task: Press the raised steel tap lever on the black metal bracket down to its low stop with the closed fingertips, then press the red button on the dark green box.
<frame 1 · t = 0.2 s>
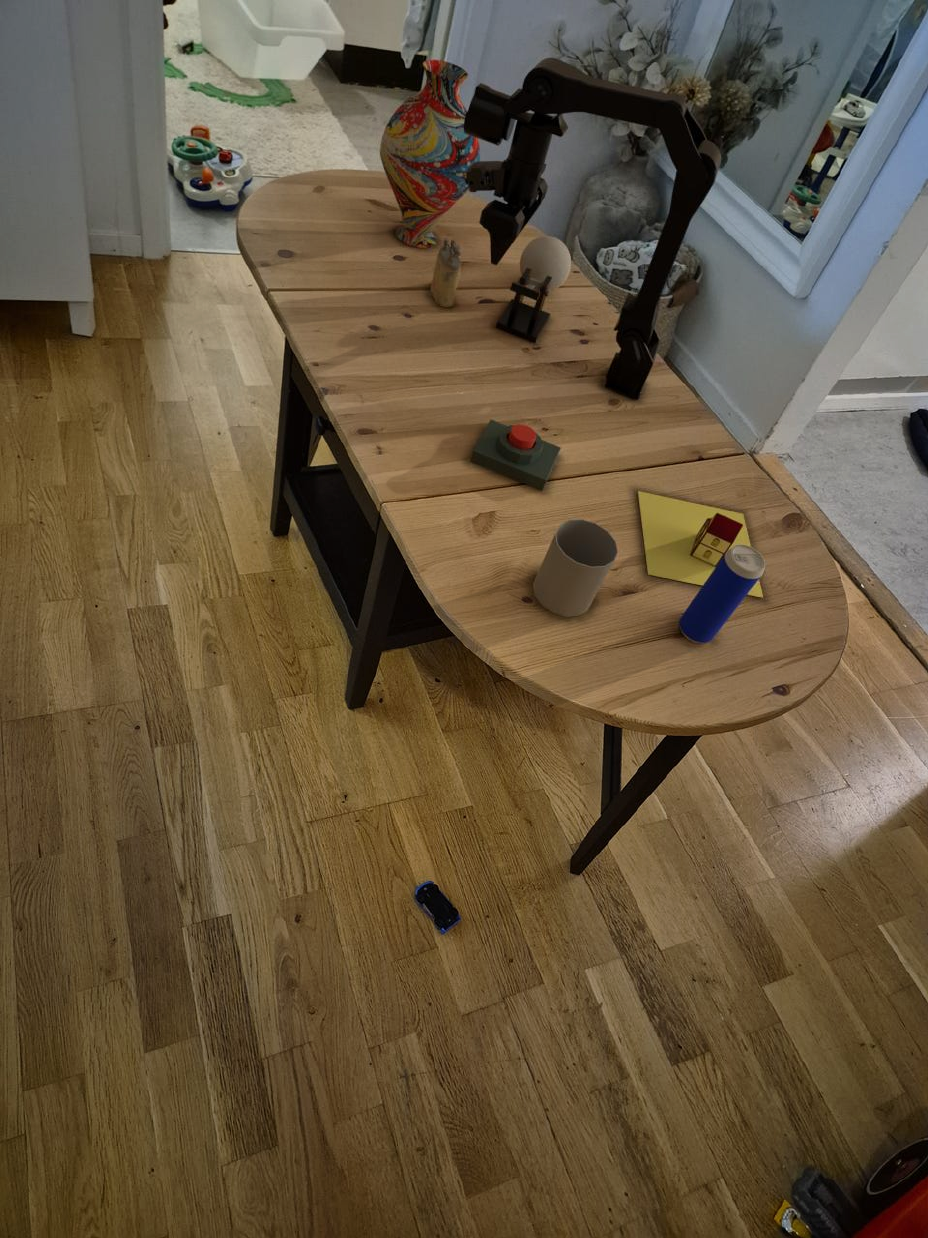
hand: (502, 252, 135), 14 cm above the table, tool pointing down, fingers open, 9 cm apart
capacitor: (440, 297, 150), on the table
button: (522, 437, 121), point 4 cm above the table, slide at 0.1 cm
cup: (561, 593, 109), on the table
tap bracket: (522, 323, 150), on the table
beverage can: (694, 631, 110), on the table
button box: (514, 459, 124), on the table
vase: (415, 237, 162), on the table
lever: (529, 288, 140), point 9 cm above the table, hinge at 20.0°
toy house: (697, 543, 122), on the table
ball: (537, 288, 160), on the table
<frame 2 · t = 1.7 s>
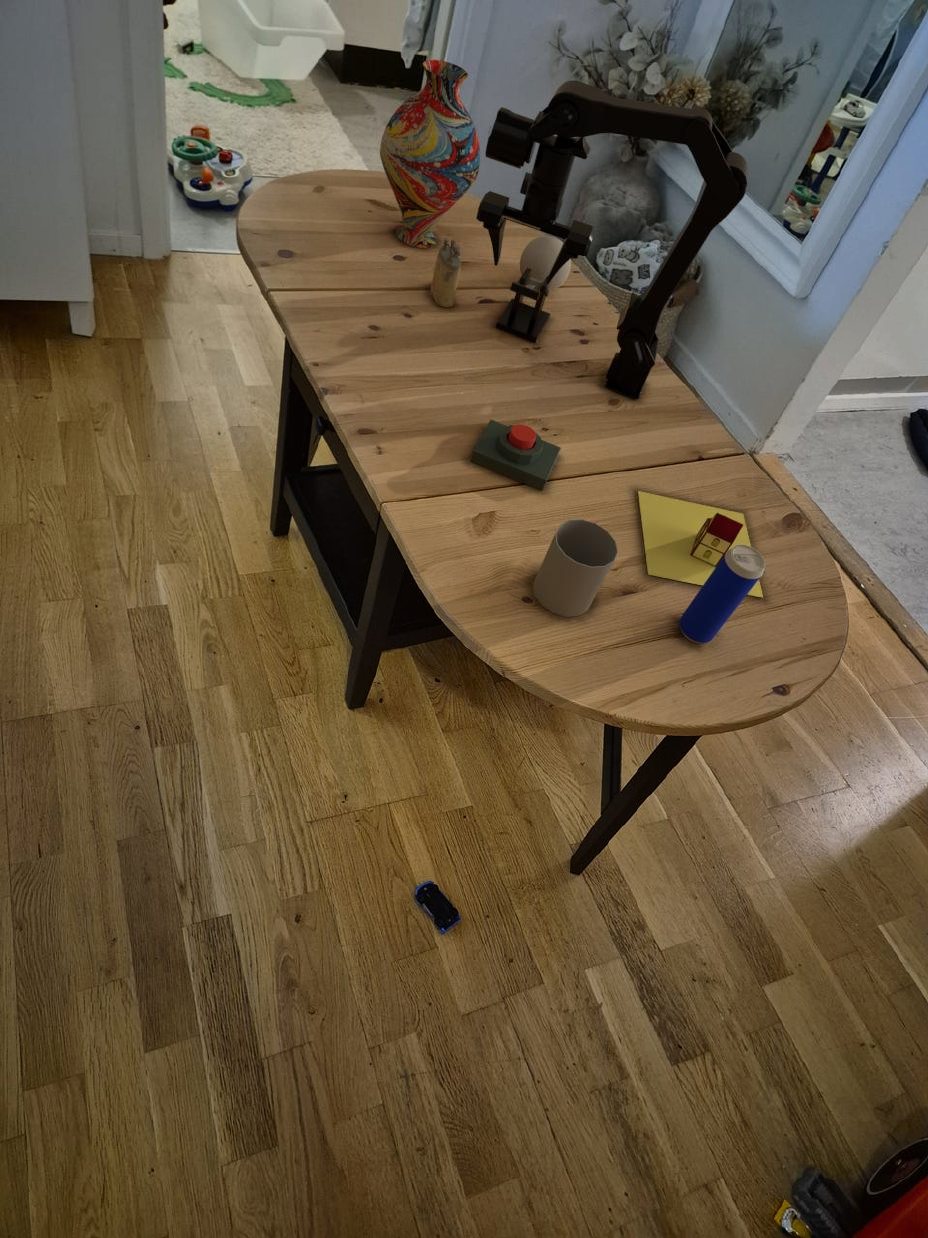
hand: (522, 273, 134), 13 cm above the table, tool pointing down, fingers open, 9 cm apart
nothing on the table moved.
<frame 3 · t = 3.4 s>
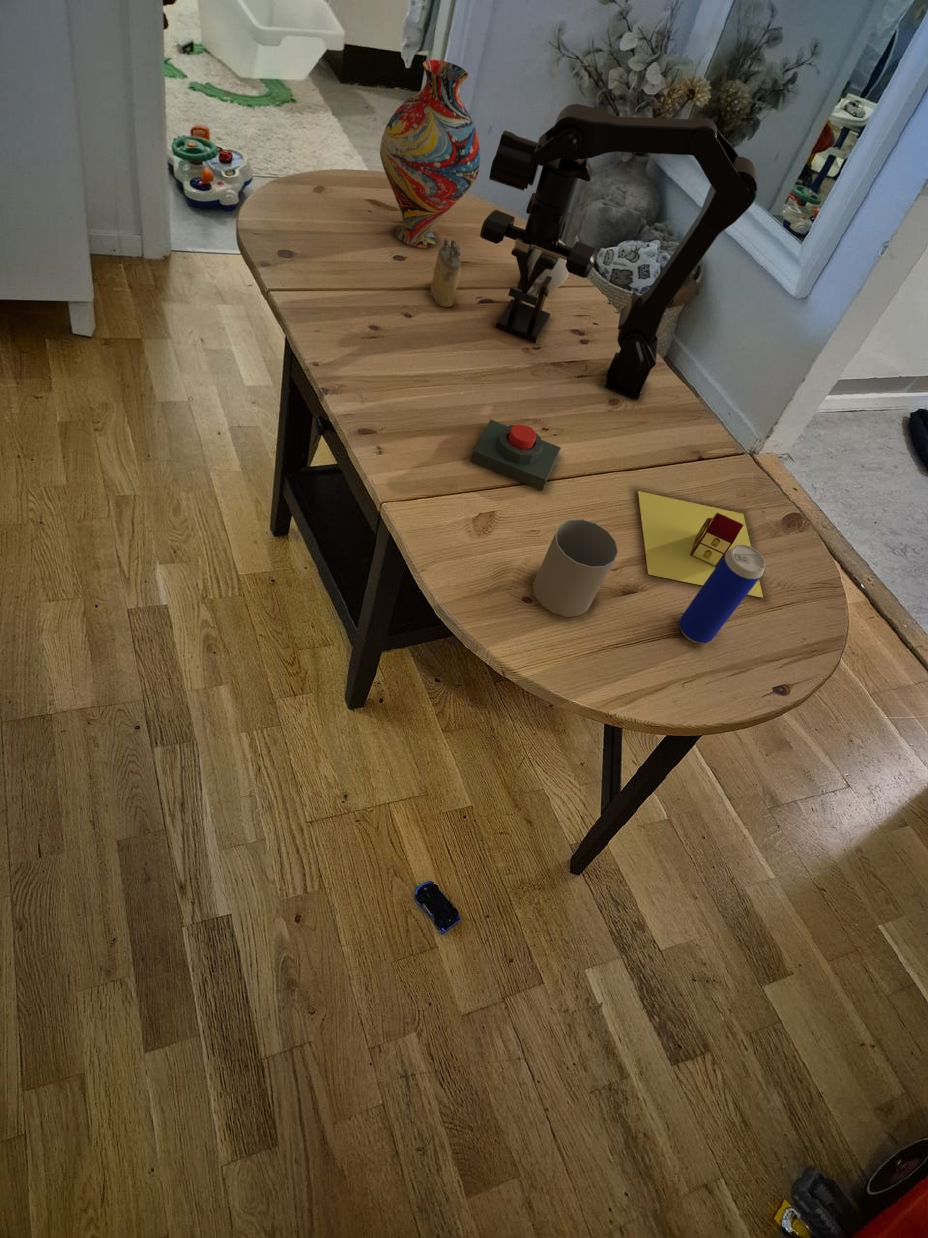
hand: (524, 291, 136), 11 cm above the table, tool pointing down, fingers closed, pressing on lever
lever: (529, 290, 141), point 9 cm above the table, hinge at 15.1°, touching gripper
everything else where it was.
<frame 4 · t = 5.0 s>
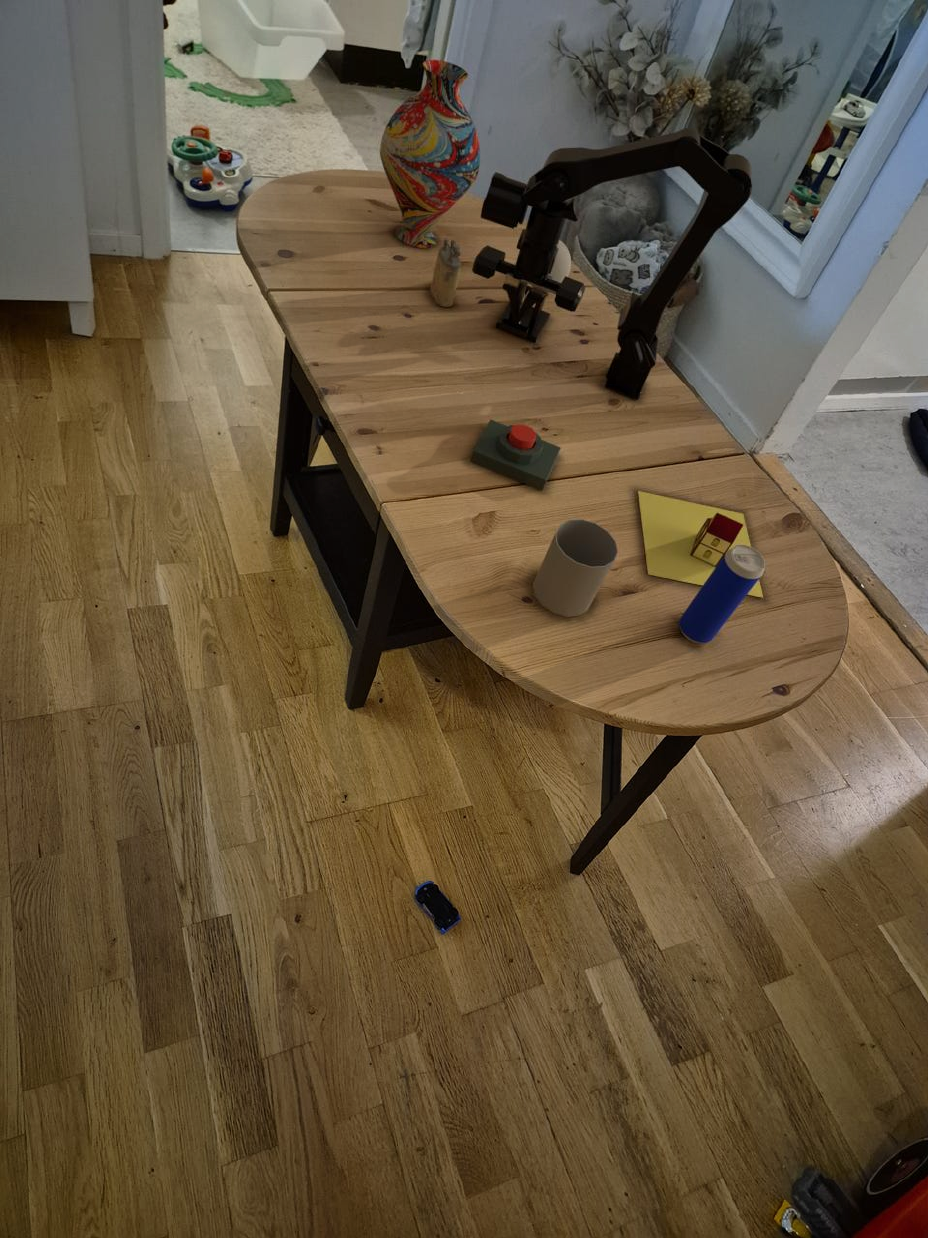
hand: (515, 323, 141), 5 cm above the table, tool pointing down, fingers closed, pressing on lever
lever: (524, 305, 143), point 6 cm above the table, hinge at -21.4°, touching gripper
everything else where it was.
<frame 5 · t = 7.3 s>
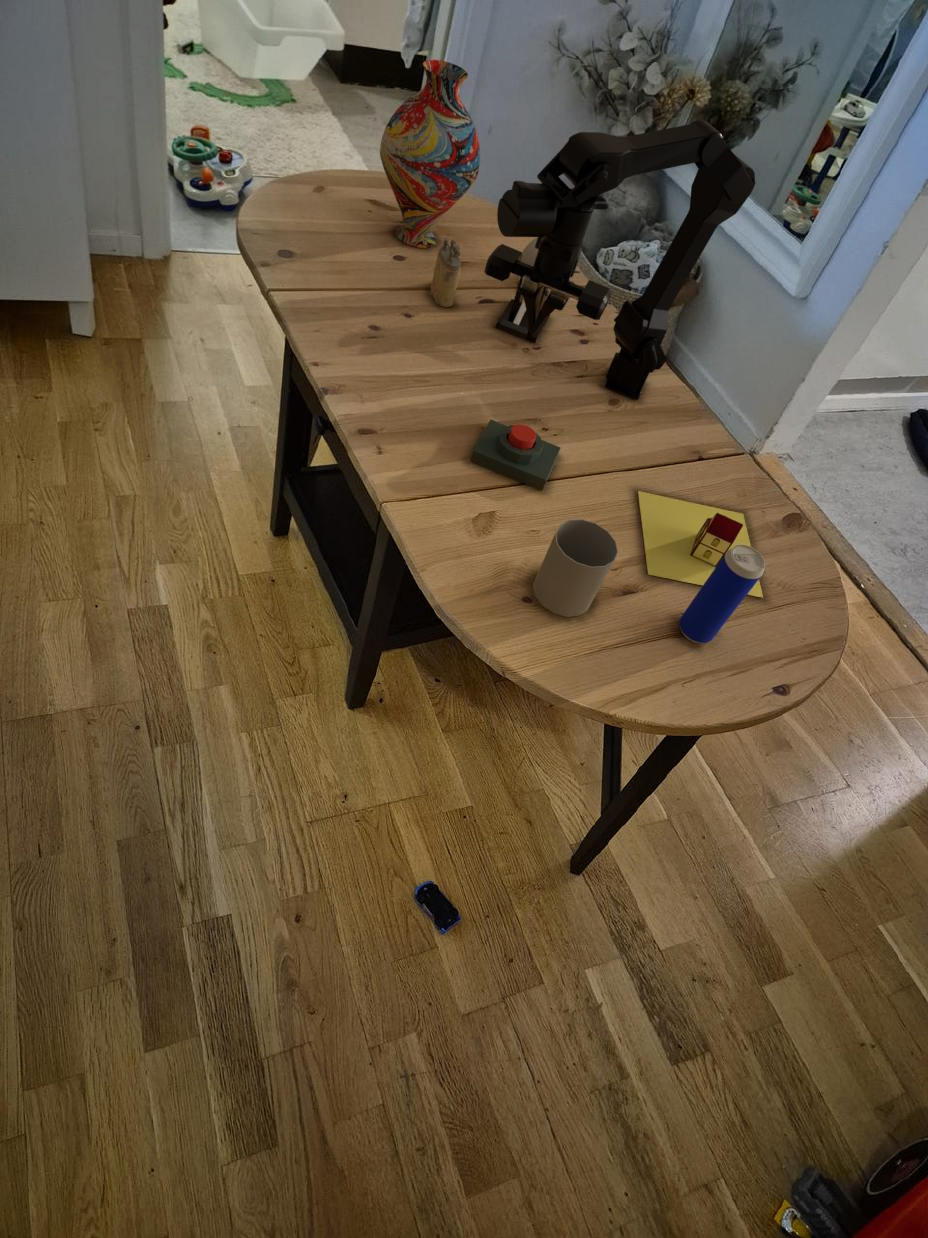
hand: (532, 331, 126), 12 cm above the table, tool pointing down, fingers closed
lever: (524, 305, 143), point 6 cm above the table, hinge at -23.0°
everything else where it was.
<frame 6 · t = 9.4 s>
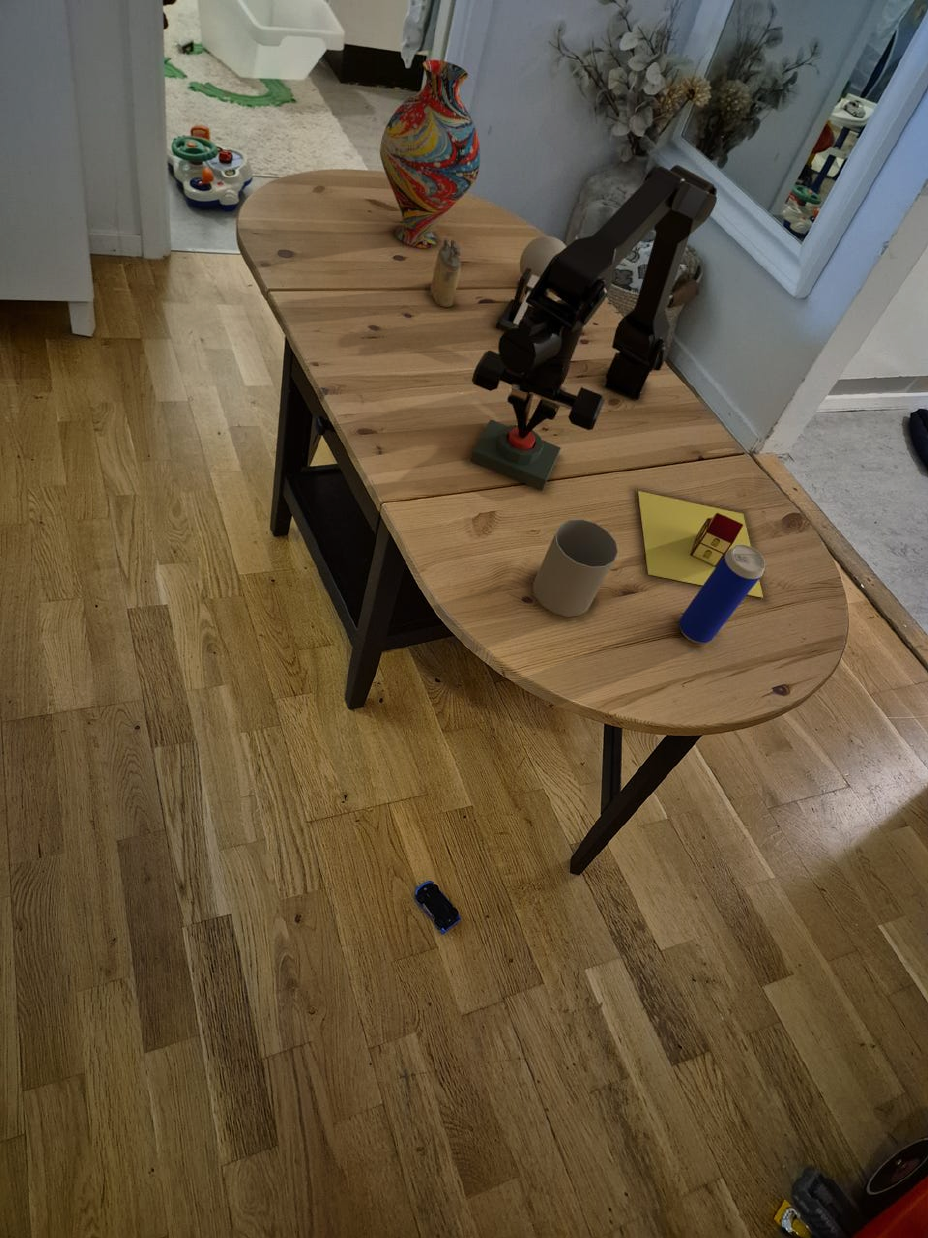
hand: (522, 435, 121), 5 cm above the table, tool pointing down, fingers closed, pressing on button
button: (520, 440, 122), point 4 cm above the table, slide at -0.5 cm, touching gripper
everything else where it was.
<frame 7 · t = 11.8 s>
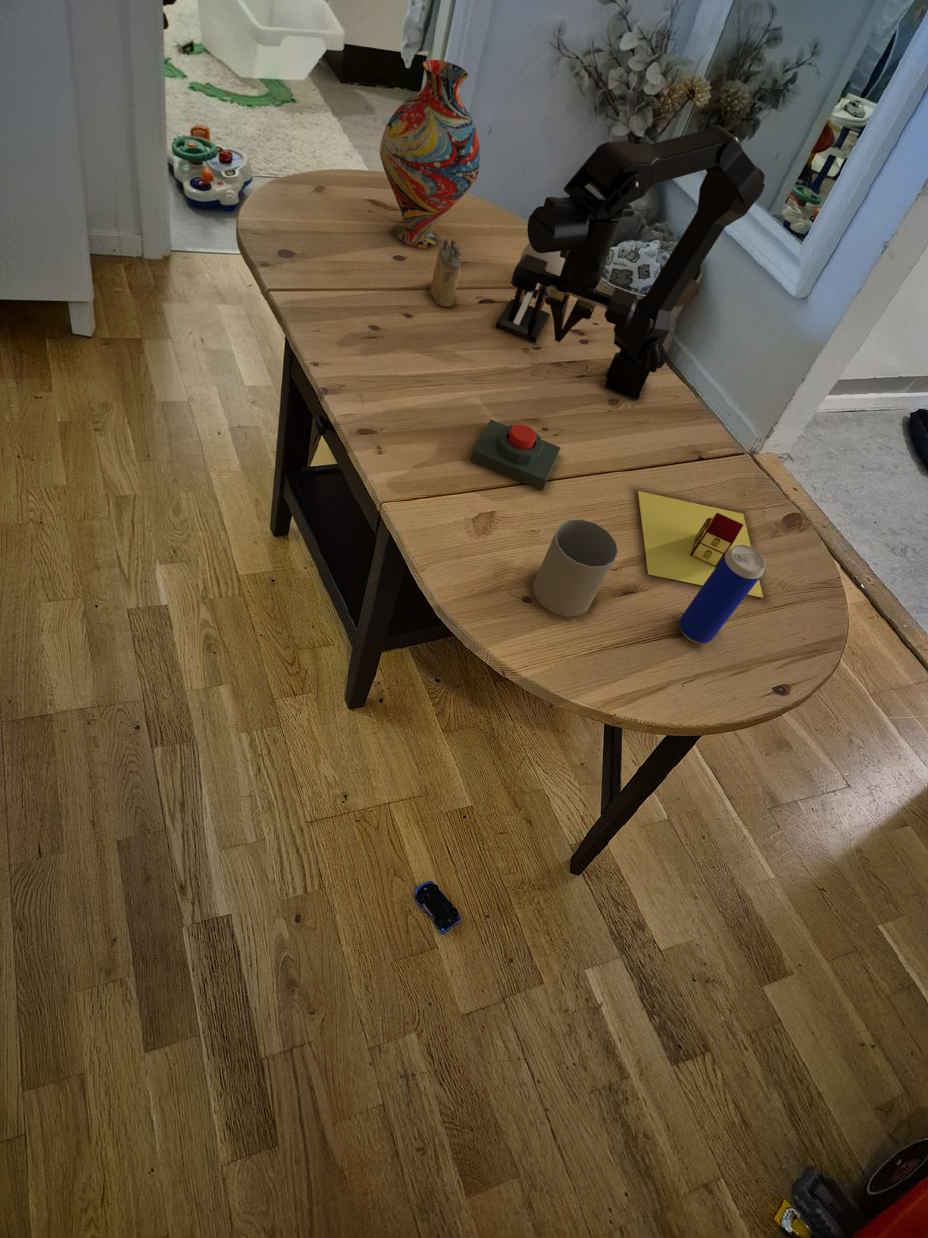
hand: (558, 340, 126), 12 cm above the table, tool pointing down, fingers closed
button: (522, 437, 121), point 4 cm above the table, slide at 0.1 cm
everything else where it was.
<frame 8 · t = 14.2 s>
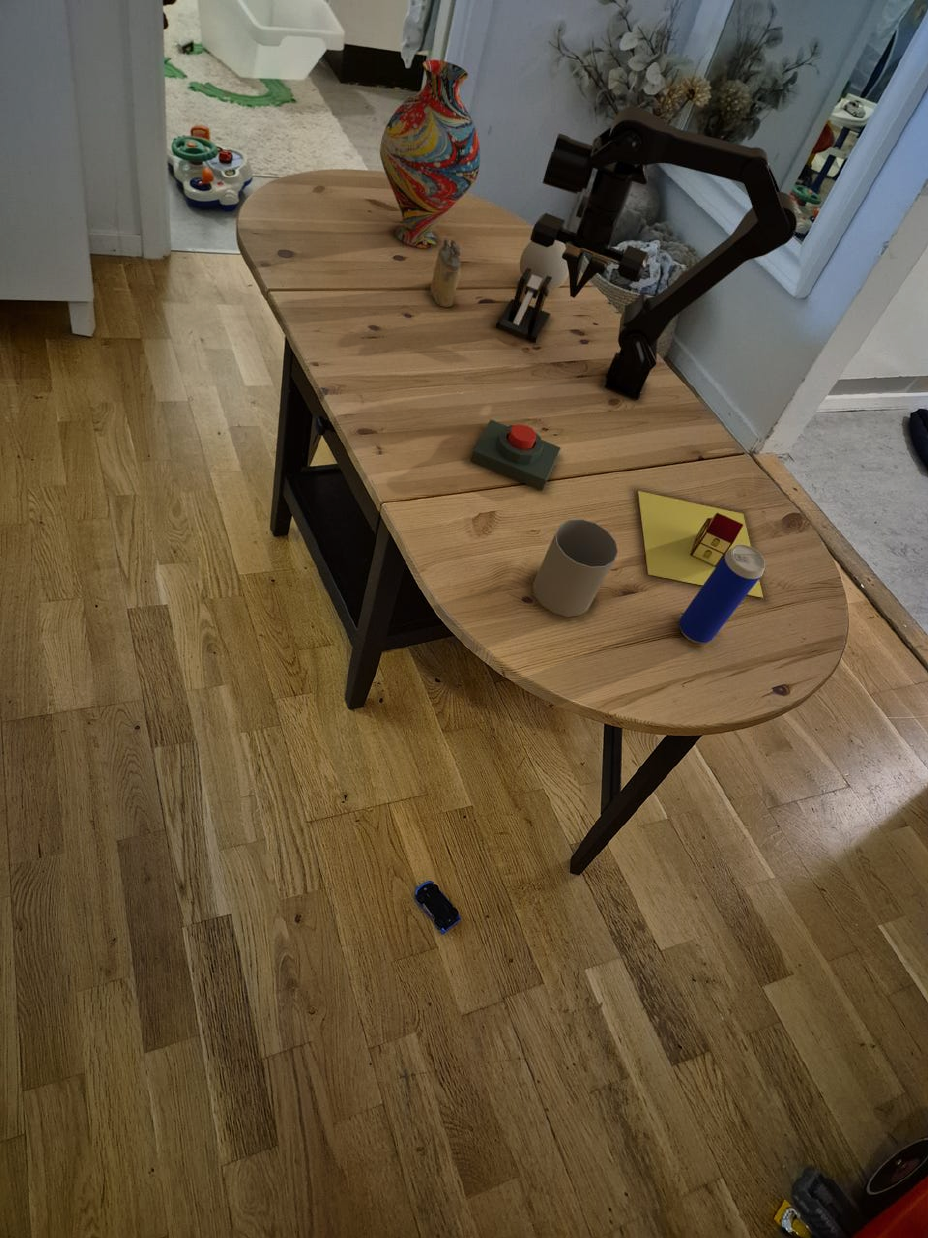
hand: (572, 295, 134), 13 cm above the table, tool pointing down, fingers closed
nothing on the table moved.
at the end: lever at -23° (first picture: +20°); button pushed in 1.1 cm at the most during the clip, back to where it started at the end; button slide at 0.1 cm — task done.
